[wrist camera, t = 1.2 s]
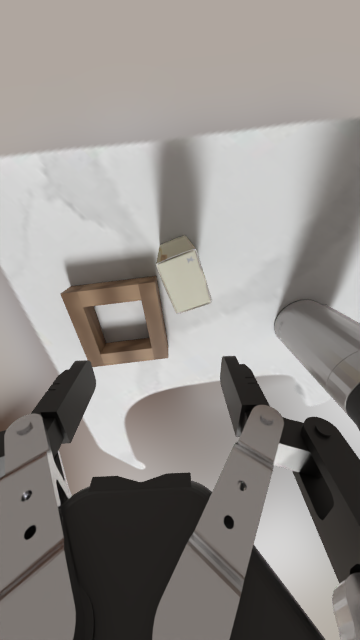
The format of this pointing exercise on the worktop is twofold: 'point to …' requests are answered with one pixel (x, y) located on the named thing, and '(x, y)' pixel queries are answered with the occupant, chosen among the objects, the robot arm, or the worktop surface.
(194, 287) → the skincare box
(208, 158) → the worktop surface
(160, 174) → the worktop surface
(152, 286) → the socket block
